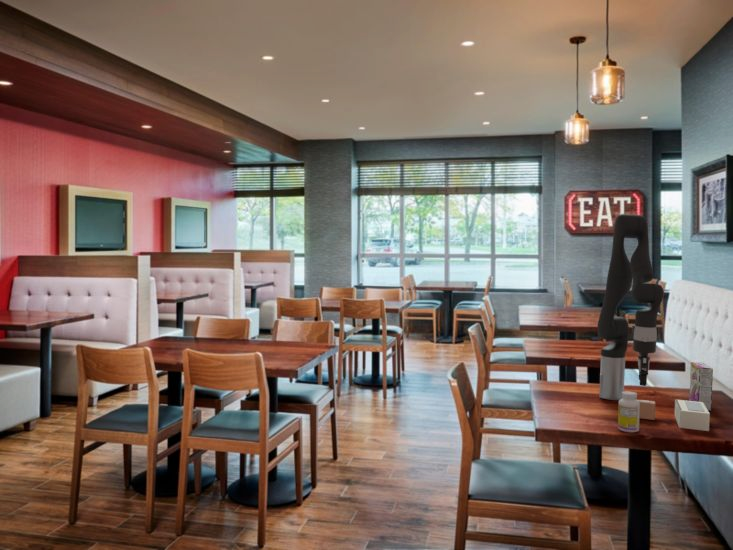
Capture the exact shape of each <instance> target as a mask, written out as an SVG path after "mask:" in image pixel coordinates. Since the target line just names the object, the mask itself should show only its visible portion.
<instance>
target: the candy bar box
mask: <svg viewBox="0 0 733 550" xmlns="http://www.w3.org/2000/svg"><path fill="white" fill-rule="evenodd" d="M713 373H714V369H713V367H711V366H709V365H707V364H706V363H704V362H697V361H696V362H694V361H691V362H690V373H689V374H690V378H689V380H690V381H689V400H688V401H696V402H703V403H704V405H705V407H706V408H707V410H708V411H712V403H713V401H712V400H713V399H712V398H713V381H714V380H713V375H714V374H713Z"/></svg>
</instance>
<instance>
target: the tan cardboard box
mask: <svg viewBox="0 0 733 550" xmlns="http://www.w3.org/2000/svg"><path fill="white" fill-rule="evenodd" d="M636 400H637V401H639V403H640V416H639V419H643V420H652V421H655V420H656V401H654V400H646V399H645V400H644V399H637V398H636Z"/></svg>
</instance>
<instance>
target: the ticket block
mask: <svg viewBox="0 0 733 550" xmlns="http://www.w3.org/2000/svg"><path fill="white" fill-rule="evenodd" d="M710 416H711V413H710V412H709V410H707V408H706V407H705V405H704V403H703V402H696V401H689V400H683V399H674V418H675V420H676V423H677V425H678V428H679V429H686V430H687V429H689V430H697V431H706V432H709V431H710V418H711V417H710Z"/></svg>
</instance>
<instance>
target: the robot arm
mask: <svg viewBox="0 0 733 550" xmlns="http://www.w3.org/2000/svg"><path fill="white" fill-rule="evenodd" d="M648 227H649V226H648V221H647V218H646V216H644V215H641V214H629V213H620V214H618V215H617V216H616V218H615V221H614V226H613V236H612V238H613V239H612V249H611V254H610V255H611V256H610V257H611V258H610V261H609V267H608V272H607V278H606V285H605V290H604V291H605V292H604V297H603V303H602V306H601V310H600V314H599V317H598V320H597V327H596V328H597V334H598V337H599V338H600V339H602V340H607V341H609V340H611V341H610V342H609V344H607V345H605V346H603V347H602V348H601V349H600V373H599V398H600V399H605V400H611V401H619V400H620V399H622V398H623V397H622V392H623V391H625V375H626V372H625V371H626V353H627V351H628V342H629V336H630V334H629V332H630V327H629V322H628V321H627V318H625V317H624V316H615V314H616V311H617V308H618V307H619V305H620V304H621V302H623V300H624V298H626V296H627V295H628V293H629V292H630V290H631V292H630V293H631V295H630V296H631V298H632V300H633V301H634V302H635V303H638V304H648V307H646V308H641V309H638V310H635V311H636V312H635V315H634V317H635V318H634V321H635V322H634V329H633V338H632V339H633V342H632V350H633V351H634V352H636V353H638V354H639V355H637V366H638V381H639V385H640V386H642V387H646V386H647V385H648V384H647V382H648V376H649V370H650V362H651V357H650V356H649V354H654V353H656V351H657V336H658V335H657V320H658V315H659V314H658V312H659V310H660V307H661V305H662V302H663V299H664V296H665V291H664V288H663V286H662V285H661V284H659V283H649V282H651V281H652V280H653V279H654V277H655V276H654V271H653V265H652V261H651V258H650V245H649V244H650V241H649V239H650V238H649V228H648ZM625 239H636V240H637V246H636V248H635V250H634V251H633V252H632V255H631V258H630V260H629V257H628V256H627V254H626V251H625Z"/></svg>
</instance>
